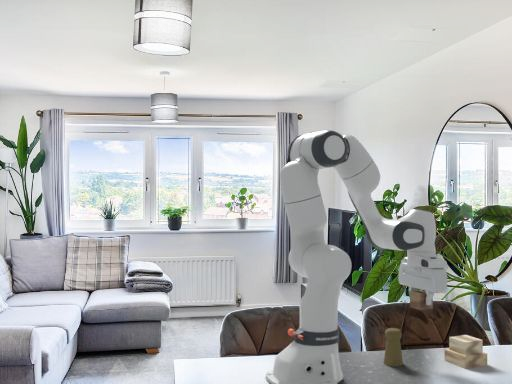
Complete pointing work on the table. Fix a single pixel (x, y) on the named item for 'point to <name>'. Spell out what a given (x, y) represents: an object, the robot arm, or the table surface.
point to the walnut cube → (419, 300)
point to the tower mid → (466, 344)
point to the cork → (393, 348)
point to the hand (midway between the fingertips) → (421, 302)
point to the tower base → (466, 359)
